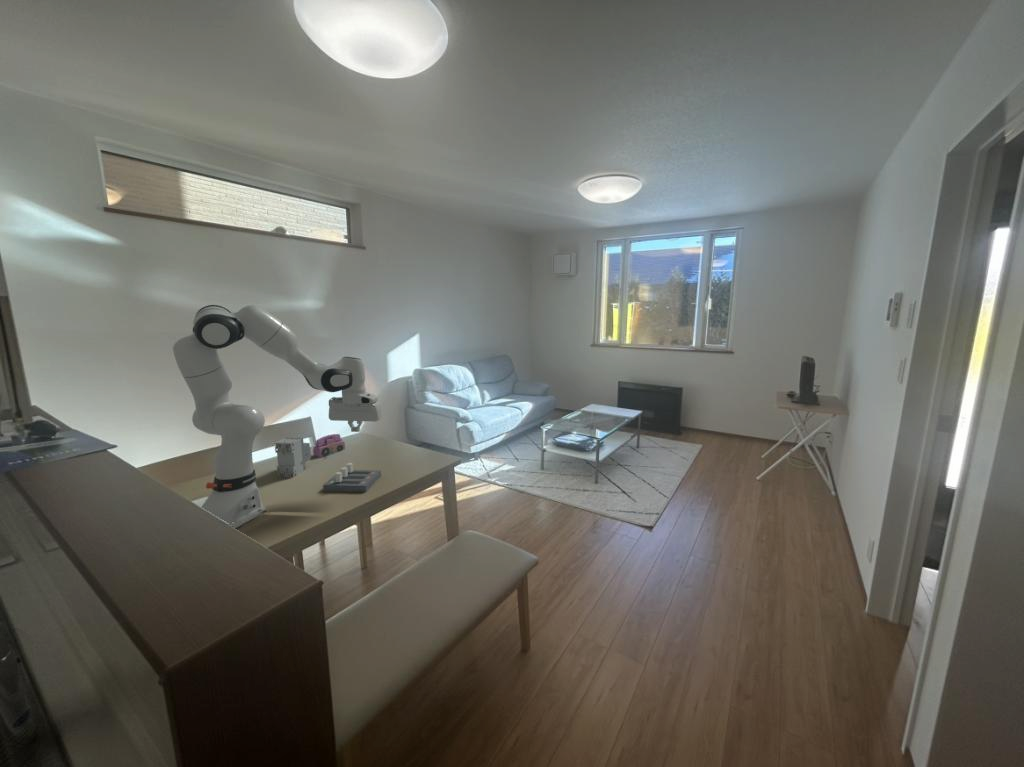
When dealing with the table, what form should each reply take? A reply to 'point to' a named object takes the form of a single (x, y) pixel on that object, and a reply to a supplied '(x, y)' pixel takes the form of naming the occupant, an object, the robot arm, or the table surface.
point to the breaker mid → (344, 472)
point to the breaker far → (350, 467)
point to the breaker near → (338, 476)
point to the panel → (354, 481)
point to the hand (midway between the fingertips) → (355, 431)
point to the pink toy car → (328, 445)
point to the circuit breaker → (292, 456)
